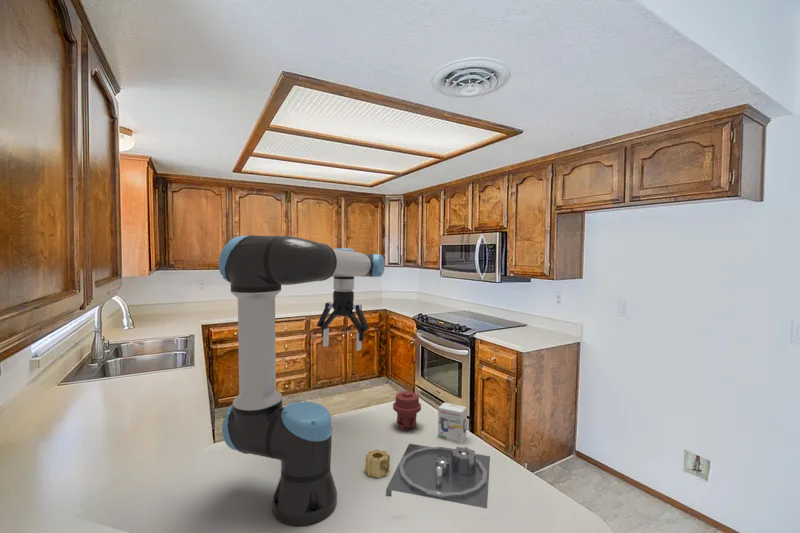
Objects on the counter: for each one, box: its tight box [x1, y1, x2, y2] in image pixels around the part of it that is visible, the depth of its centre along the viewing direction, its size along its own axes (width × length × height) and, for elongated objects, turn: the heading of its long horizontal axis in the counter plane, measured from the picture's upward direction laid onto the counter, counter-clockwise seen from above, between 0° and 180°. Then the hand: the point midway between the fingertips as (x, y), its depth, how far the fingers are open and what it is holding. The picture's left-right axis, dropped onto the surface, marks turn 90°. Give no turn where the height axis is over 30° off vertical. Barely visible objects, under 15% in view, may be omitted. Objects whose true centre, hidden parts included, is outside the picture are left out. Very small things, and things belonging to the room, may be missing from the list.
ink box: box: [437, 402, 468, 445], centre depth 125 cm, size 9×5×12 cm, turn 62°
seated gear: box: [451, 446, 476, 475], centre depth 107 cm, size 7×7×4 cm
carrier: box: [385, 443, 491, 509], centre depth 105 cm, size 25×25×6 cm
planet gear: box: [364, 448, 391, 479], centre depth 107 cm, size 7×7×4 cm
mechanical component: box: [392, 390, 422, 431], centre depth 136 cm, size 12×10×10 cm
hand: (342, 348), depth 140 cm, fingers open, 13 cm apart
